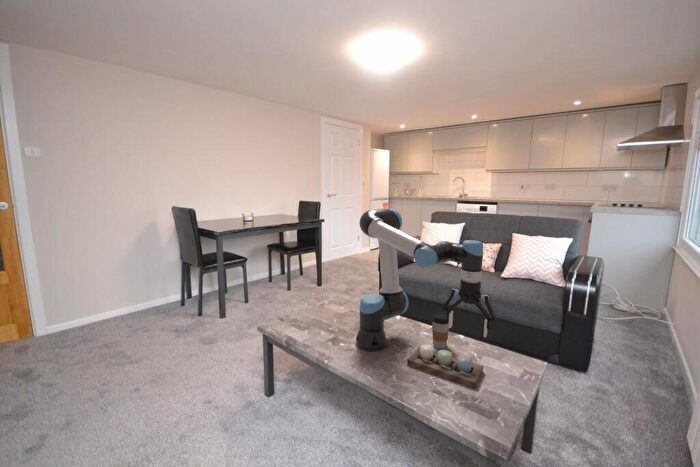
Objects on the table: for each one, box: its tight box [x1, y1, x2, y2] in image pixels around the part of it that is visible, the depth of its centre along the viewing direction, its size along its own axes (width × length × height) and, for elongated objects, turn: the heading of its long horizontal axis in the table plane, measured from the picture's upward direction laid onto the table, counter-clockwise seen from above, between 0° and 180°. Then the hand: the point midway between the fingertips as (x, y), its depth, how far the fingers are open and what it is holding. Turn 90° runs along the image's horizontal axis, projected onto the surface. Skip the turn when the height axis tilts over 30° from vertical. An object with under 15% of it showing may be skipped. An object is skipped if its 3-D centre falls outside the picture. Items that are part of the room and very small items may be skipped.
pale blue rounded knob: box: [456, 355, 473, 373], centre depth 131 cm, size 6×6×4 cm
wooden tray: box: [406, 346, 484, 389], centre depth 136 cm, size 28×13×2 cm, turn 56°
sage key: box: [437, 349, 453, 367], centre depth 135 cm, size 6×6×4 cm
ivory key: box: [419, 344, 434, 361], centre depth 140 cm, size 6×6×4 cm
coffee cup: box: [431, 312, 450, 350], centre depth 153 cm, size 8×8×15 cm
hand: (467, 331), depth 129 cm, fingers open, 13 cm apart
